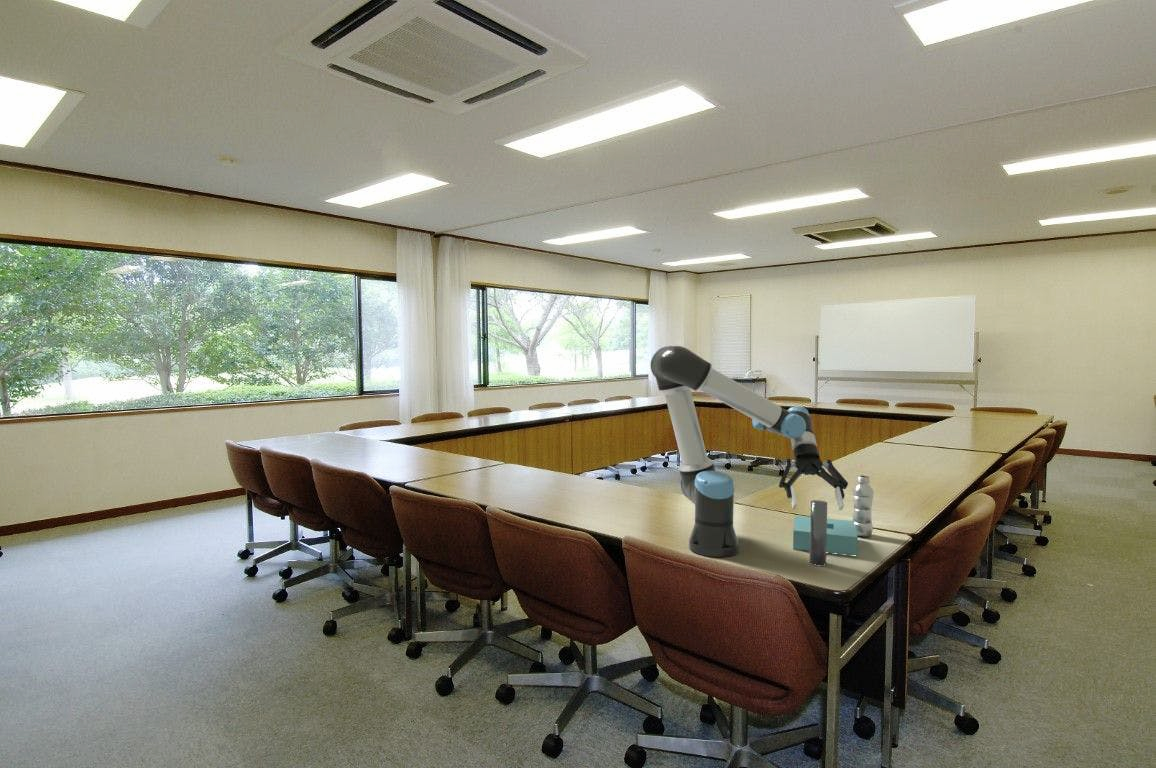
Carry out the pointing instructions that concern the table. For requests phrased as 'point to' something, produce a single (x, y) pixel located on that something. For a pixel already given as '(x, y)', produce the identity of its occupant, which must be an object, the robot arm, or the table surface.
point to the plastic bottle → (863, 506)
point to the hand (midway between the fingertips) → (818, 507)
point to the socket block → (838, 535)
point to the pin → (818, 532)
